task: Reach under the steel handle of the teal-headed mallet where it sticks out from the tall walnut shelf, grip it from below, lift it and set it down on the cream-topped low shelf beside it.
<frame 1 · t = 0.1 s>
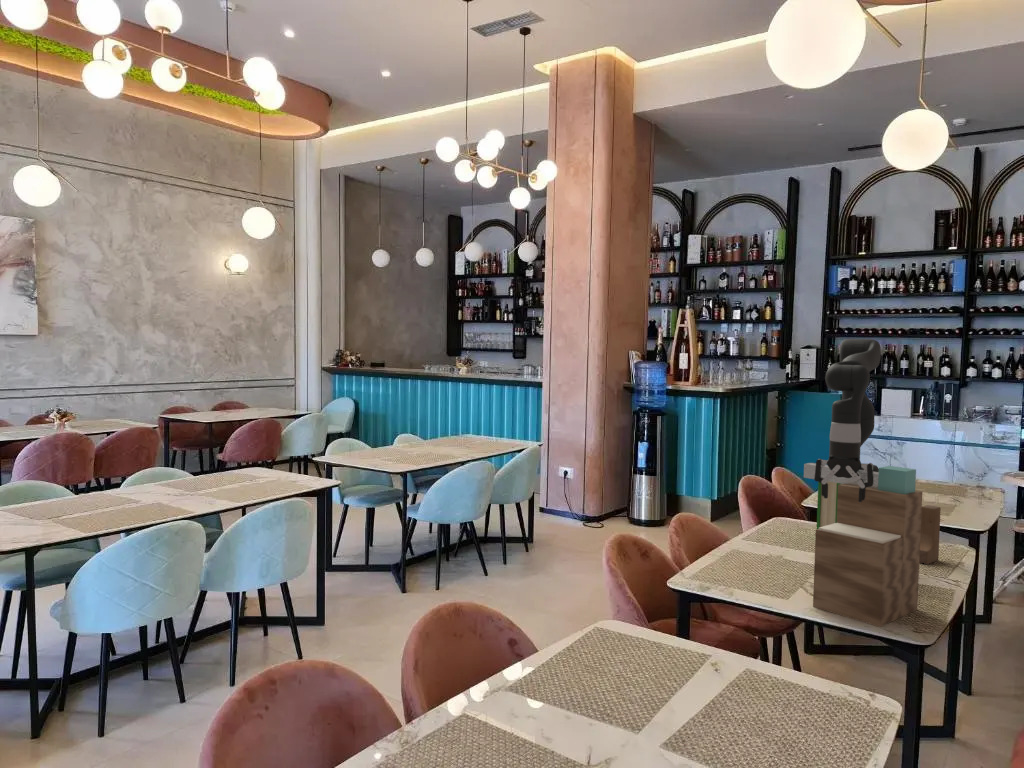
hand: (842, 499, 197), 29 cm above the table, tool pointing down, fingers open, 8 cm apart
two tier shelf: (864, 608, 198), on the table
wooden block: (925, 561, 245), on the table
mallet: (861, 485, 204), point 32 cm above the table, touching two tier shelf
hardback book: (835, 538, 273), on the table
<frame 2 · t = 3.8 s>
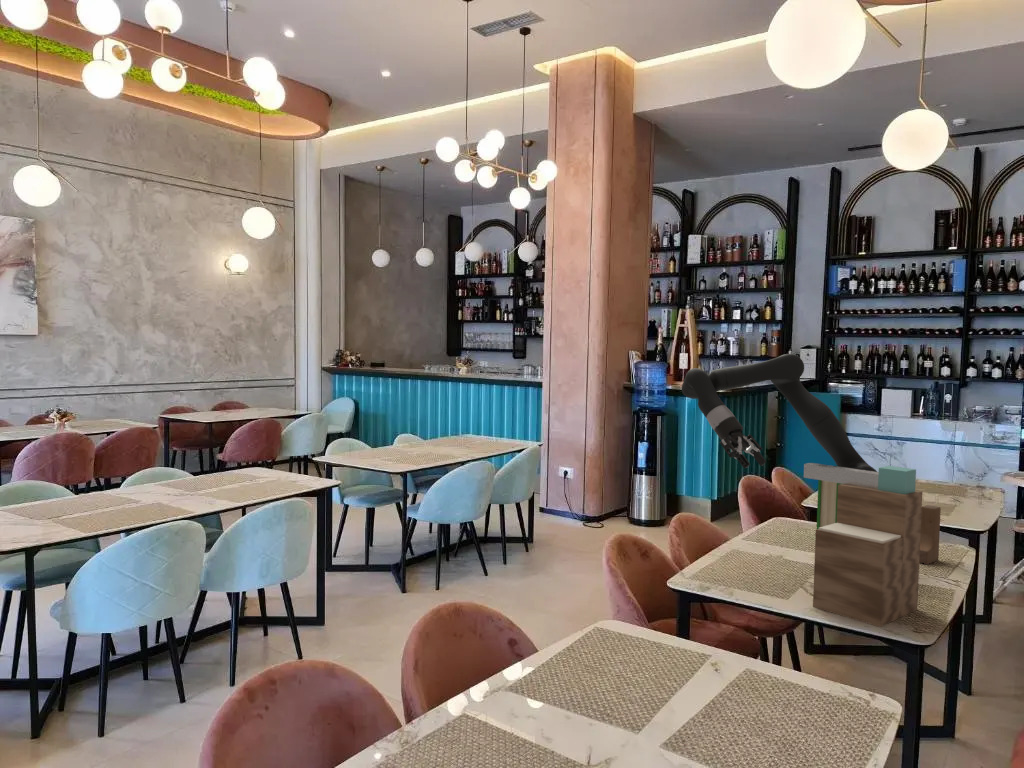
hand: (755, 465, 219), 35 cm above the table, tool tilted 45°, fingers open, 8 cm apart
nothing on the table moved.
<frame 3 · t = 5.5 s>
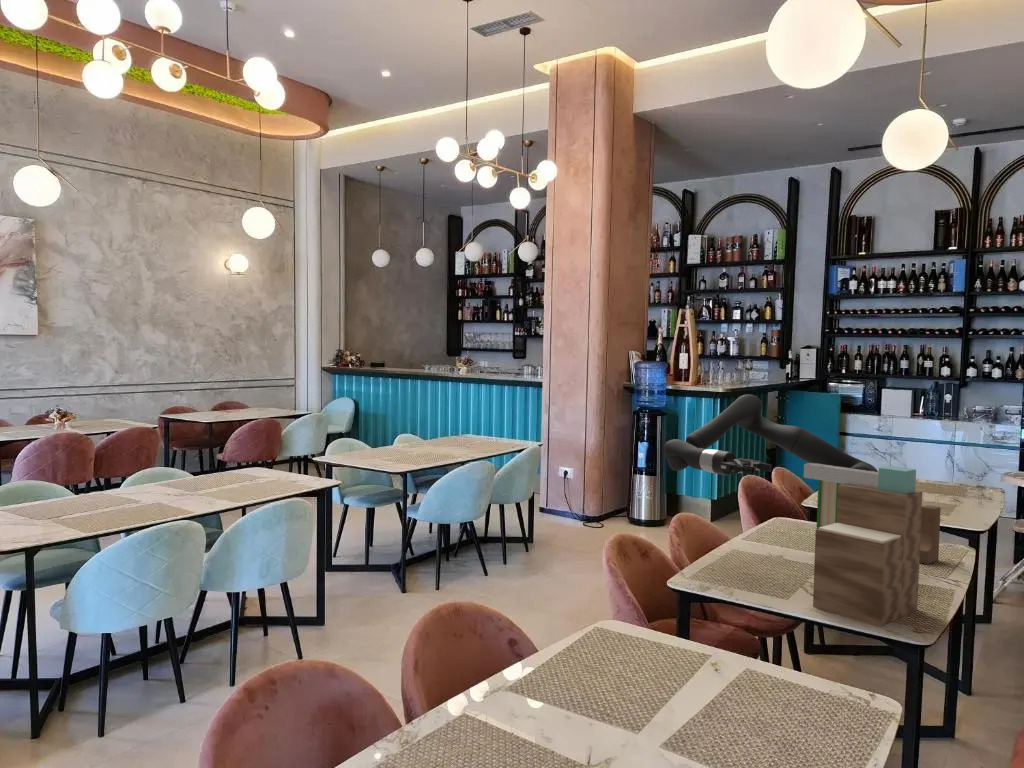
hand: (763, 469, 222), 33 cm above the table, tool horizontal, fingers open, 8 cm apart
nothing on the table moved.
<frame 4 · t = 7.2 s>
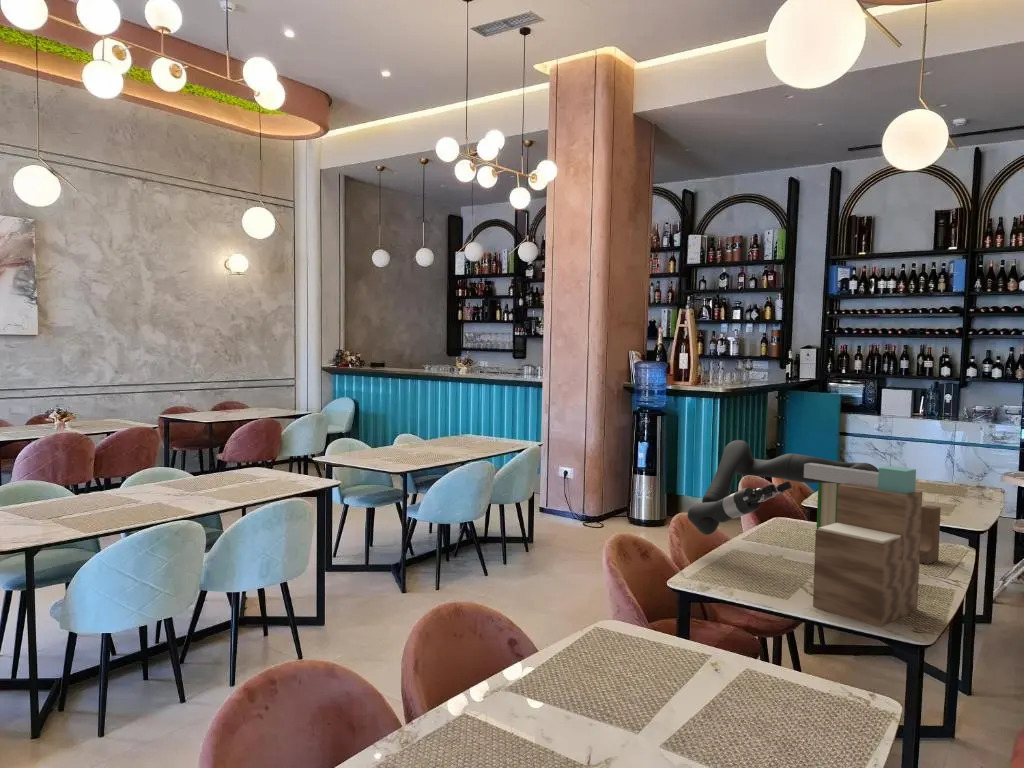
hand: (782, 485, 223), 28 cm above the table, tool pointing upward, fingers open, 8 cm apart
nothing on the table moved.
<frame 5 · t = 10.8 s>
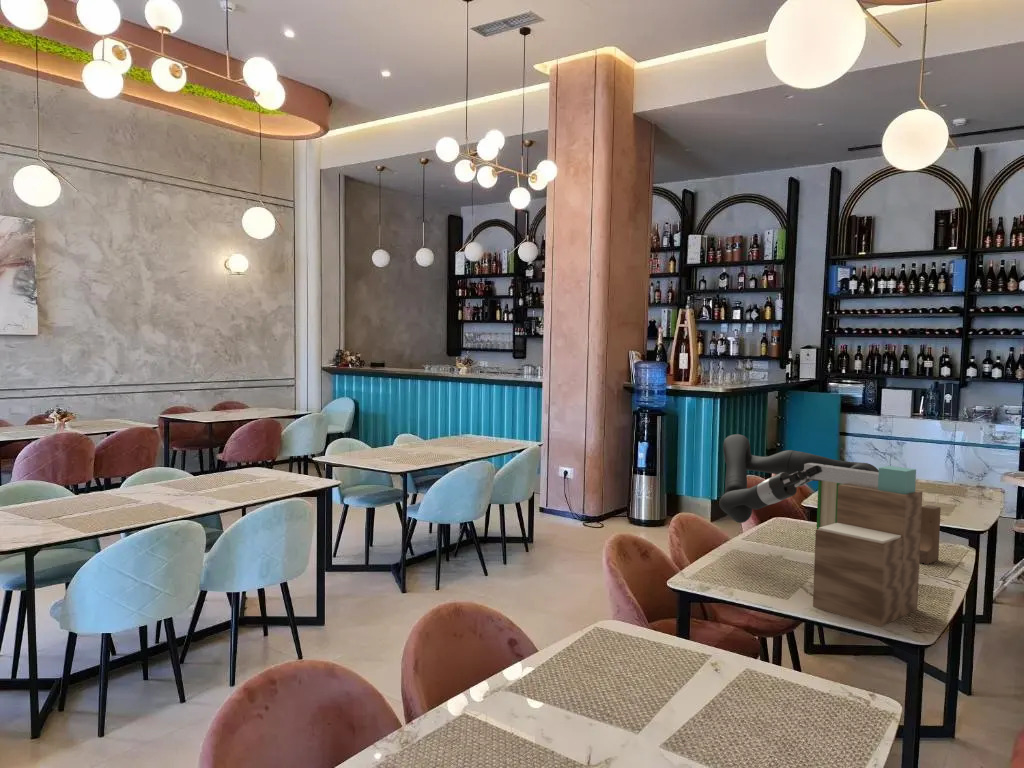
hand: (823, 467, 213), 35 cm above the table, tool pointing upward, fingers closed on mallet, 4 cm apart
mallet: (861, 485, 204), point 32 cm above the table, touching gripper, two tier shelf
everything else where it was.
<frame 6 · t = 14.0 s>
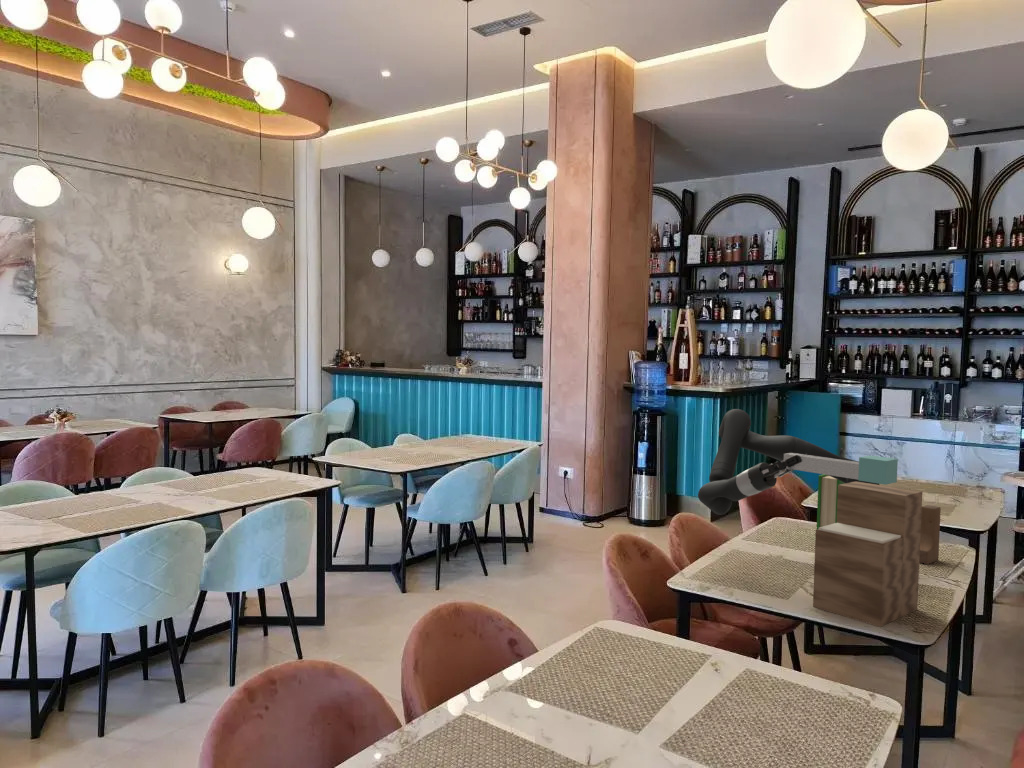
hand: (803, 457, 206), 39 cm above the table, tool pointing upward, fingers closed on mallet, 4 cm apart
mallet: (841, 475, 197), point 36 cm above the table, touching gripper
everything else where it was.
when the fingers open (27 cm above the table, at t = 17.3 s): mallet drops 2 cm, resting on two tier shelf.
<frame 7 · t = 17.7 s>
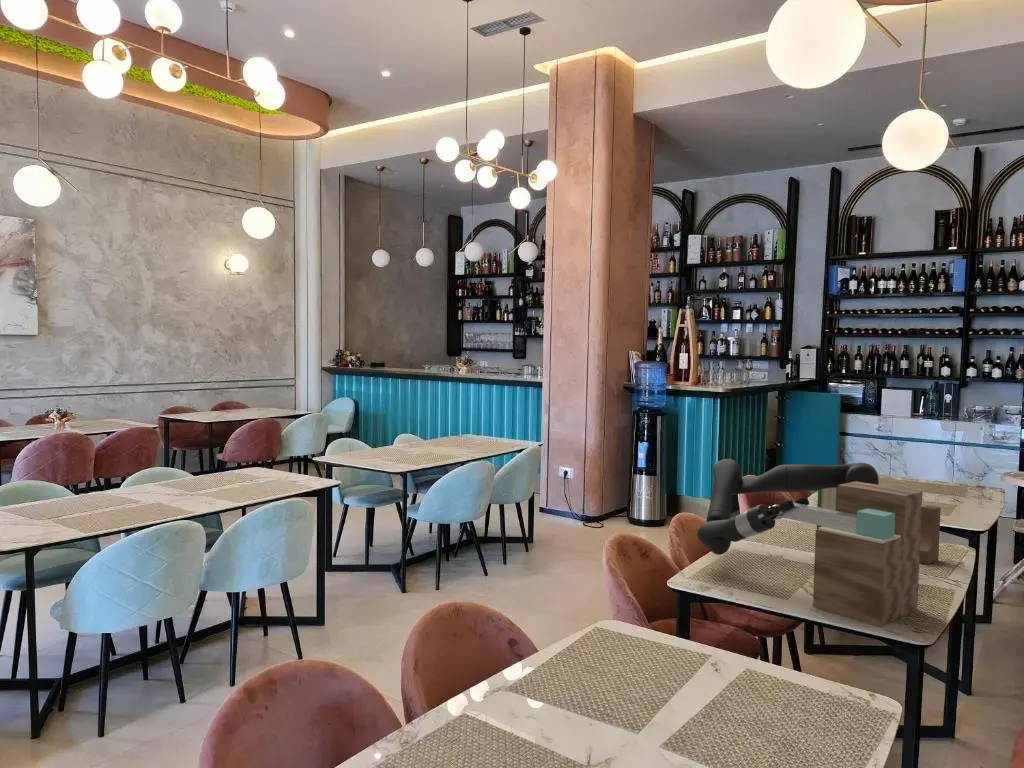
hand: (800, 502, 207), 27 cm above the table, tool pointing upward, fingers open, 7 cm apart
mallet: (839, 527, 198), point 22 cm above the table, touching two tier shelf
everything else where it was.
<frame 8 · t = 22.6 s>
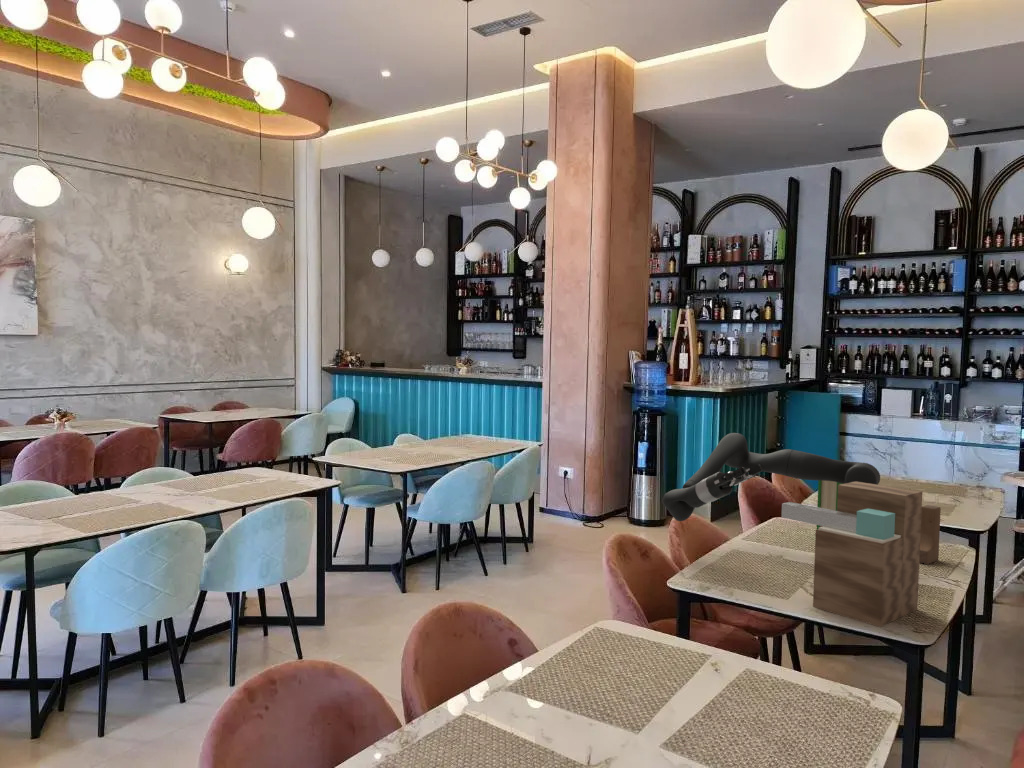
hand: (752, 468, 224), 33 cm above the table, tool pointing upward, fingers open, 8 cm apart
nothing on the table moved.
at the end: mallet inside the target area (0.1 cm from its centre), point 21.6 cm above the table; mallet tilted 0°; the gripper is holding nothing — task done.
